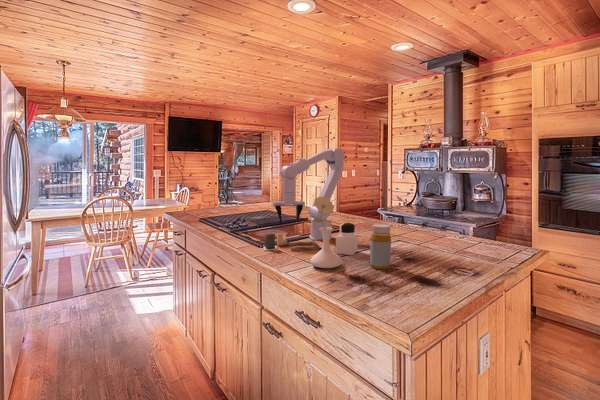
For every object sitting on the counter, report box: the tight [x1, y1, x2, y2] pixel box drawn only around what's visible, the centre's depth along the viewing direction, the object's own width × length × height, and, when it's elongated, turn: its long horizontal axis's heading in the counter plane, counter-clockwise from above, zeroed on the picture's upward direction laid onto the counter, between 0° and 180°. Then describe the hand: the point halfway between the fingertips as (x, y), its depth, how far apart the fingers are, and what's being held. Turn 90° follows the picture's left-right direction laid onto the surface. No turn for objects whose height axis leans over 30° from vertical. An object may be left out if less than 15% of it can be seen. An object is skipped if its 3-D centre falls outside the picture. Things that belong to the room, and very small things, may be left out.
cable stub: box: [264, 232, 276, 249], centre depth 145 cm, size 4×4×6 cm
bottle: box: [369, 223, 392, 271], centre depth 120 cm, size 7×7×15 cm
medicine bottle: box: [335, 222, 359, 256], centre depth 139 cm, size 7×7×12 cm
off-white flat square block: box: [262, 245, 278, 252], centre depth 145 cm, size 6×6×1 cm
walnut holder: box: [287, 240, 321, 252], centre depth 148 cm, size 12×10×1 cm
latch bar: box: [276, 232, 288, 247], centre depth 155 cm, size 4×10×5 cm, turn 10°
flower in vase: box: [309, 195, 343, 269], centre depth 121 cm, size 13×11×25 cm
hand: (288, 221), depth 155 cm, fingers open, 7 cm apart
